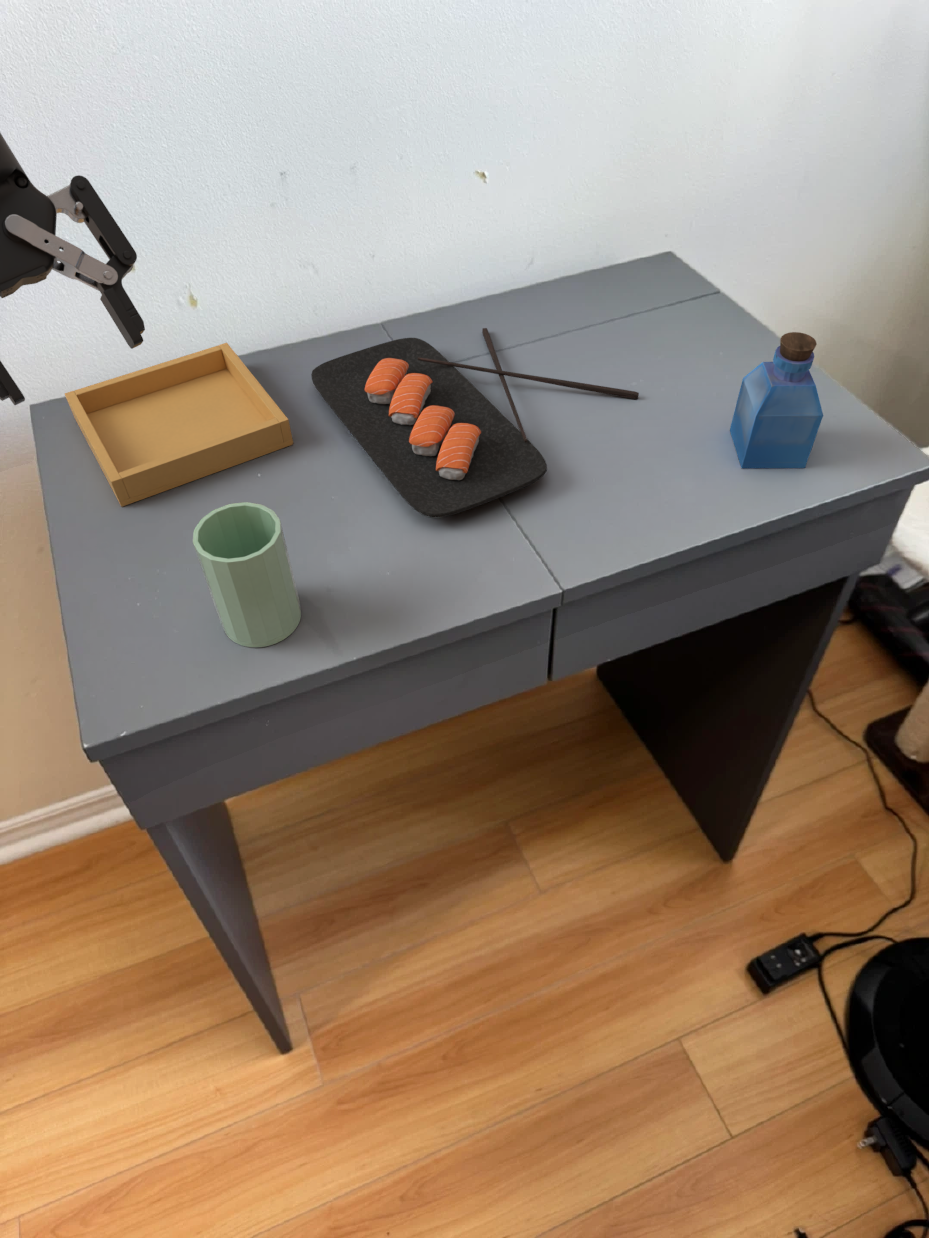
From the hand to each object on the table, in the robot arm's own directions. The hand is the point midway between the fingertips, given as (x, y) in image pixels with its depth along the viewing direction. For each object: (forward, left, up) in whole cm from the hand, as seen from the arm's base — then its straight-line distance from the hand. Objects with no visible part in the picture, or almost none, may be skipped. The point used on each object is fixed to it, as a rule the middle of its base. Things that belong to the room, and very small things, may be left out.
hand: (80, 372), depth 58 cm
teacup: (+6, -6, -23) cm, 24 cm away
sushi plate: (+38, +9, -23) cm, 45 cm away
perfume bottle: (+58, -12, -23) cm, 63 cm away
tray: (+9, +23, -23) cm, 34 cm away
